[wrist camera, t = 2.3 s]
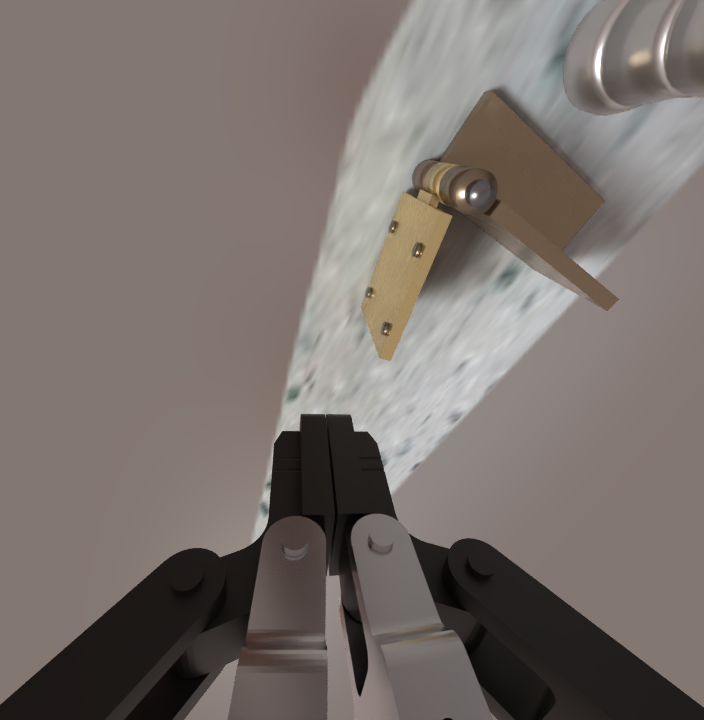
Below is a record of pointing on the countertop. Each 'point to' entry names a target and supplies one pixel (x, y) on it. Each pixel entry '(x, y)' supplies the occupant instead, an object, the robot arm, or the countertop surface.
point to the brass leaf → (405, 262)
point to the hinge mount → (519, 193)
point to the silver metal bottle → (635, 55)
